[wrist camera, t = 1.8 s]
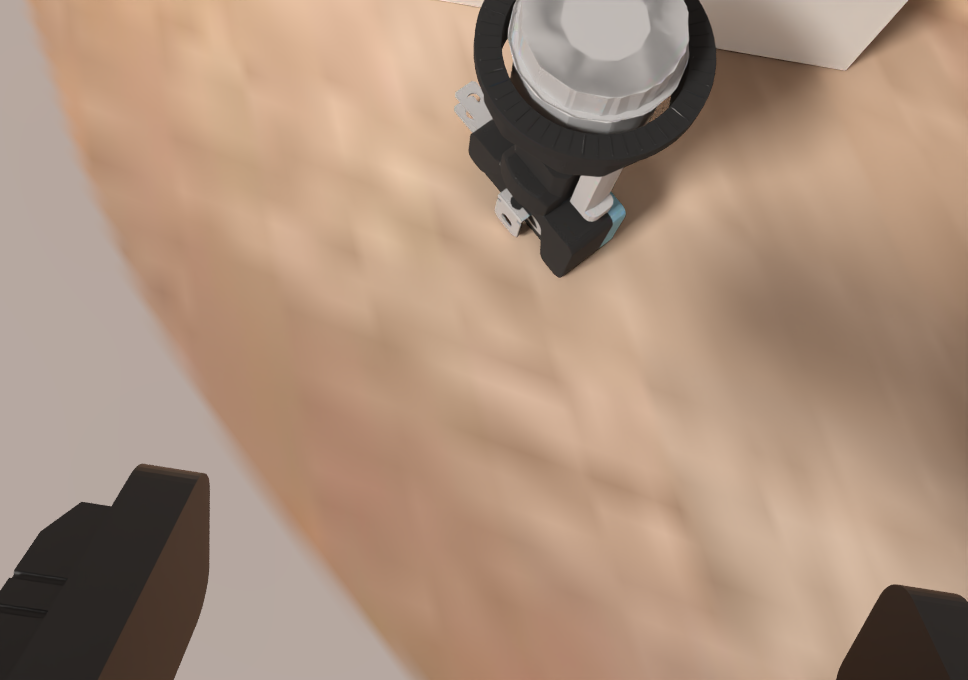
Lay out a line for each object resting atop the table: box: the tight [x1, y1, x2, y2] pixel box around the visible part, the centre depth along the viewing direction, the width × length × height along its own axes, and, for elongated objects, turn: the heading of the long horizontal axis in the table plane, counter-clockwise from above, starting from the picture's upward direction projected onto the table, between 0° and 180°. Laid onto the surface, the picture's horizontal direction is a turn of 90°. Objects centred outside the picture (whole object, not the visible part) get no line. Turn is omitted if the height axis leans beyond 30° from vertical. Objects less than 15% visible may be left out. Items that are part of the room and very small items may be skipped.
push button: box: [454, 0, 716, 278], centre depth 23 cm, size 7×5×10 cm
